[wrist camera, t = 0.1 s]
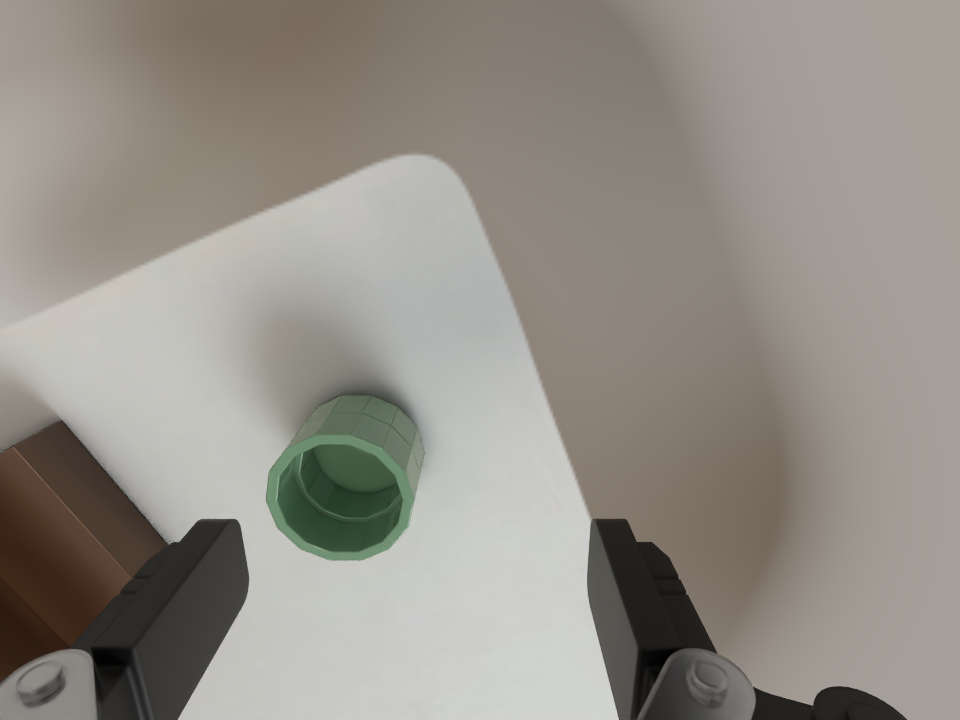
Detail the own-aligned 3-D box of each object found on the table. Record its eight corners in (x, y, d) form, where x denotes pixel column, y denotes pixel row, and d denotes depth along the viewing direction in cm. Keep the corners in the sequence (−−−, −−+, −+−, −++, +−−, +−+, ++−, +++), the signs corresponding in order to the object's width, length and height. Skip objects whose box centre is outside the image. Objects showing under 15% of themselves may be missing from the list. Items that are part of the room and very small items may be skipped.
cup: (295, 391, 27) (255, 434, 22) (422, 390, 27) (410, 434, 22) (308, 500, 29) (274, 561, 24) (427, 499, 29) (417, 561, 24)
